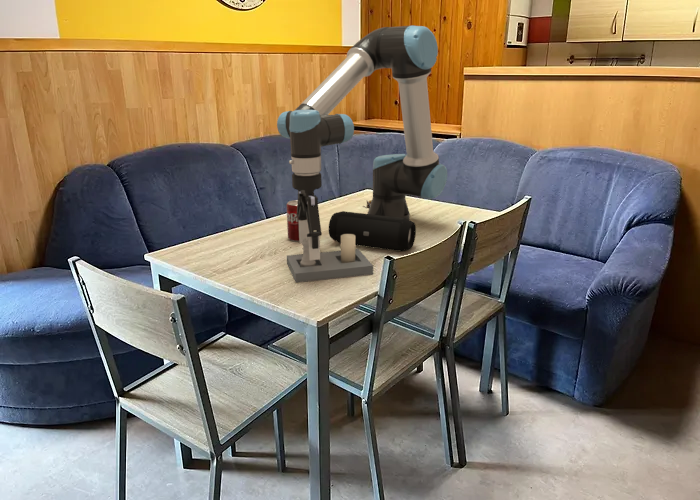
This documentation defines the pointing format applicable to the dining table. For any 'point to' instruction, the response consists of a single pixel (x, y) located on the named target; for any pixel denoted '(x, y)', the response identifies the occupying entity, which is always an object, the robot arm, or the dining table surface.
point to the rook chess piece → (306, 255)
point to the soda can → (292, 221)
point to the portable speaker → (374, 230)
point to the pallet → (332, 263)
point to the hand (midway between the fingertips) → (309, 250)
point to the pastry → (368, 203)
